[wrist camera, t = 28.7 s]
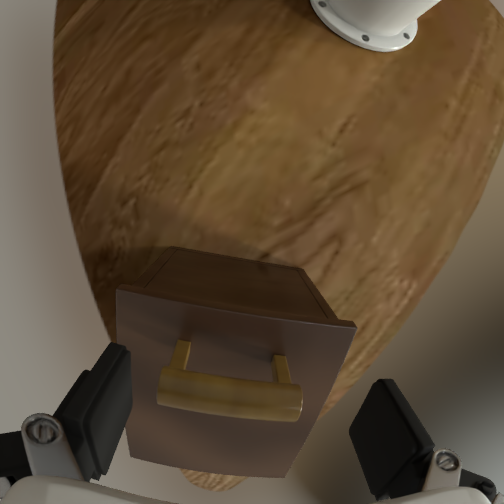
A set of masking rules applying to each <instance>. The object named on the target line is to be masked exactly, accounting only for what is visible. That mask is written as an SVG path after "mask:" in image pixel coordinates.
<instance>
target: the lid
mask: <svg viewBox="0 0 504 504" xmlns="http://www.w3.org/2000/svg"><path fill="white" fill-rule="evenodd" d="M356 331H357V327H356V325H355V324H354V322H353V321H347V320H338V319H329V318H321V317H313V316H305V315H298V314H290V313H283V312H276V311H269V310H263V309H256V308H250V307H244V306H237V305H231V304H225V303H219V302H214V301H208V300H202V299H197V298H191V297H186V296H181V295H175V294H170V293H165V292H160V291H155V290H150V289H145V288H141V287H136V286H131V285H127V284H120V285H119V286H118V287H117V288H116V333H117V344H121V345H124V346H126V349H127V350H128V351H130V352H131V377H132V397H133V406H132V410H131V413H130V415H129V418H128V420H127V422H126V425H125V428H126V434H127V440H128V446H129V451H130V456H131V457H133V458H137V459H141V460H145V461H149V462H153V463H157V464H162V465H167V466H172V467H177V468H182V469H188V470H194V471H200V472H208V473H215V474H224V475H235V476H248V477H268V478H284V477H285V476H286V474H287V473H288V471H289V469H290V468H291V466H292V464H293V462H294V461H295V459H296V457H297V456H298V454H299V452H300V450H301V448H302V447H303V445H304V443H305V441H306V439H307V437H308V436H309V434H310V432H311V430H312V428H313V426H314V424H315V422H316V420H317V418H318V416H319V414H320V412H321V410H322V408H323V406H324V404H325V402H326V400H327V398H328V396H329V394H330V392H331V390H332V387H333V385H334V383H335V381H336V379H337V376H338V374H339V372H340V370H341V367H342V365H343V363H344V360H345V358H346V355H347V353H348V351H349V348H350V346H351V343H352V341H353V338H354V336H355V333H356Z"/></svg>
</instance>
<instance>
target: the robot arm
mask: <svg viewBox="0 0 504 504" xmlns="http://www.w3.org/2000/svg"><path fill="white" fill-rule="evenodd" d="M439 1H440V0H310V2H311V5H312V7H313V9H314V10H315V12H316V14H317V15H318V17H319V18H320V19H321V20H322V21H323V22H324V24H326V25H327V26H328V27H329V28H330V29H331V30H332V31H334V32H335V33H336V34H338V35H339V36H341V37H342V38H344V39H346V40H347V41H349V42H351V43H353V44H355V45H358V46H360V47H363V48H366V49H370V50H374V51H382V52H389V51H395V50H399V49H401V48H403V47H405V46H406V45H408V44H409V43H410V42H411V41H412V40H413V39H414V37H415V35H416V32H417V18H418V17H419V16H421V15H422V14H423V13H425V12H426V11H427V10H428V9H430V8H431V7H432V6H434V5H435V4H436V3H438V2H439ZM132 406H133V397H132V377H131V352H130V351H128V350H127V349H126V346H124V345H121V344H117V343H113V342H111V343H110V344H109V345H108V347H107V348H106V349H105V351H104V352H103V354H102V355H101V356H100V358H99V359H98V361H97V363H96V364H95V365H94V367H93V368H92V370H91V371H89V370H84V371H83V372H82V373H81V375H80V376H79V377H78V379H77V380H76V382H75V383H74V385H73V386H72V388H71V389H70V391H69V392H68V394H67V395H66V396H65V398H64V400H63V401H62V402H61V404H60V405H59V407H58V409H57V410H56V411H55V413H54V415H53V416H51V415H49V414H44V413H37V414H33V415H31V416H29V417H27V418H26V419H25V421H24V422H23V424H22V427H21V431H16V432H10V433H3V434H0V499H1V501H0V504H177V503H171V502H167V501H161V500H157V499H152V498H147V497H143V496H139V495H135V494H131V493H127V492H124V491H120V490H116V489H113V488H109V487H105V486H102V485H98V484H94V483H90V482H89V481H90V479H91V478H92V479H96V480H98V481H99V479H100V477H101V474H102V475H106V474H107V472H108V469H109V466H110V463H111V461H112V458H113V455H114V453H115V450H116V448H117V445H118V443H119V440H120V438H121V435H122V432H123V430H124V427H125V425H126V422H127V420H128V418H129V415H130V413H131V410H132ZM349 435H350V437H351V440H352V443H353V445H354V448H355V451H356V453H357V456H358V459H359V462H360V464H361V467H362V469H363V472H364V475H365V478H366V481H367V483H368V486H369V489H370V492H371V493H372V494H373V495H375V497H376V500H377V501H378V500H383V499H387V498H389V497H390V498H391V499H390V500H385V501H380V502H375V503H370V504H504V495H502V494H501V493H498V494H497V495H496V487H495V485H494V483H493V482H492V481H491V480H489V479H487V478H485V477H483V476H480V475H477V474H474V473H472V472H469V471H467V470H464V469H462V461H461V459H460V457H459V456H458V454H456V453H455V452H454V451H452V450H450V449H446V448H441V449H438V450H436V451H435V452H434V451H433V448H434V447H435V444H434V443H433V441H432V440H431V438H430V436H429V434H428V433H427V431H426V430H425V428H424V427H423V425H422V423H421V422H420V420H419V419H418V417H417V415H416V414H415V412H414V411H413V409H412V408H411V406H410V405H409V403H408V401H407V400H406V398H405V397H404V395H403V394H402V392H401V391H400V389H399V388H398V386H397V385H396V383H395V382H394V380H393V379H378V380H377V382H375V383H374V384H373V385H372V387H371V389H370V391H369V393H368V395H367V397H366V399H365V400H364V403H363V404H362V406H361V408H360V410H359V412H358V414H357V415H356V417H355V419H354V421H353V422H352V424H351V426H350V429H349Z"/></svg>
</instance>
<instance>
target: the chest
mask: <svg viewBox="0 0 504 504" xmlns="http://www.w3.org/2000/svg"><path fill="white" fill-rule="evenodd" d="M132 286H136V287H141V288H145V289H150V290H155V291H160V292H165V293H170V294H175V295H181V296H186V297H191V298H197V299H202V300H208V301H214V302H219V303H225V304H231V305H237V306H244V307H250V308H256V309H263V310H269V311H276V312H283V313H290V314H298V315H305V316H313V317H321V318H329V319H338V318H337V316H336V315H335V313H334V312H333V311H332V309H331V308H330V306H329V305H328V303H327V302H326V301H325V299H324V298H323V296H322V295H321V293H320V292H319V291H318V289H317V288H316V286H315V285H314V284H313V282H312V281H311V279H310V278H309V277H308V275H307V274H306V272H305V271H304V269H299V268H294V267H288V266H282V265H276V264H270V263H265V262H259V261H253V260H247V259H241V258H236V257H230V256H224V255H219V254H213V253H207V252H202V251H196V250H190V249H185V248H179V247H174V246H171V247H169V249H168V250H167V251H166V252H165V253H164V254H163V255H162V256H161V257H160V258H158V259H157V260H156V261H155V262H154V263H153V264H152V265H151V267H150V268H149V269H148V270H147V271H146V272H145V273H144V274H143V275H142V276H141V277H140V278H139V279H138V280H137V281H136V282H135V283H134V284H133V285H132ZM338 320H339V319H338Z"/></svg>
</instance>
